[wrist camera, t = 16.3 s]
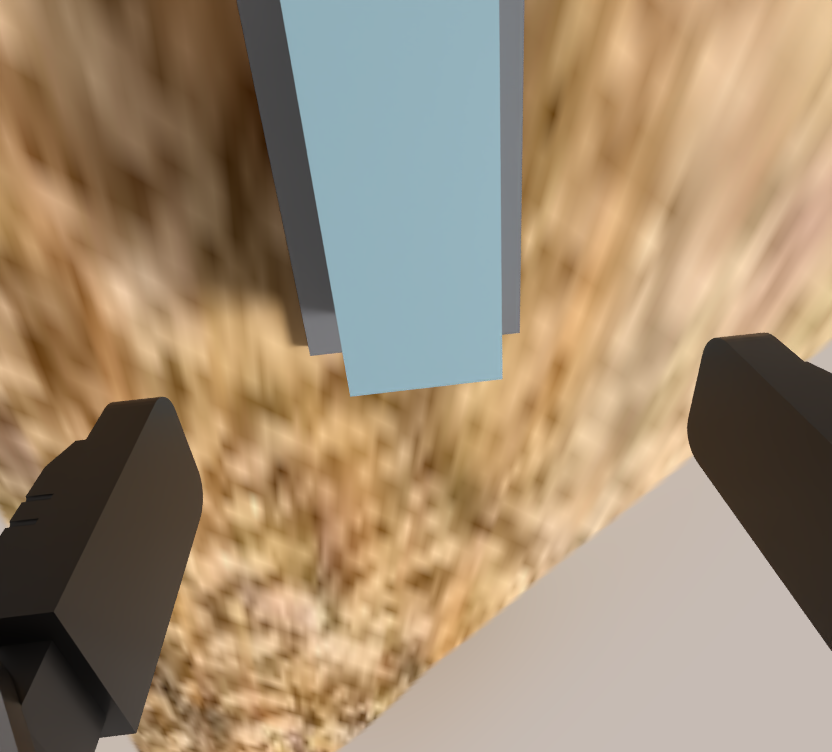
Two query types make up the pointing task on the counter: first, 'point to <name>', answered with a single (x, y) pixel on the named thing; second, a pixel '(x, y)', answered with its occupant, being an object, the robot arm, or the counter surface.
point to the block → (406, 182)
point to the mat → (295, 179)
